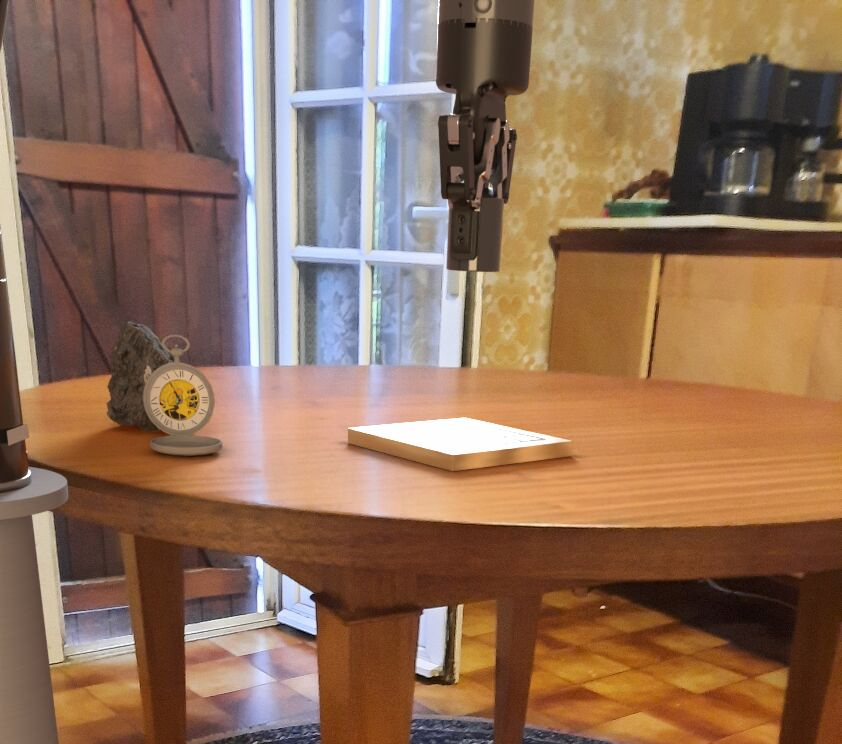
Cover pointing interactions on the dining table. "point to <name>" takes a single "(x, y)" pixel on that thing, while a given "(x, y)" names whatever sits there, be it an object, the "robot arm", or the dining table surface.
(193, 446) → the pocket watch
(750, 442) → the dining table surface
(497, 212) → the cylinder
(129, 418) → the rock
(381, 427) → the board
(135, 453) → the dining table surface
